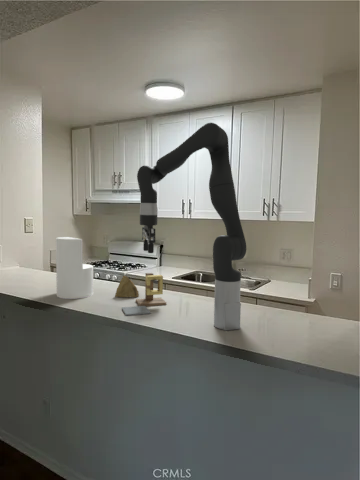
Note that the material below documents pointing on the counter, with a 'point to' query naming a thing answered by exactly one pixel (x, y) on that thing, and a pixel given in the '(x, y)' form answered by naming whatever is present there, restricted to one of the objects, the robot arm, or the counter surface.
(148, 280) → the c link
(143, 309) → the slate mat
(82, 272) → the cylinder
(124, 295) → the rock
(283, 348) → the counter surface
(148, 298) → the hook stand
